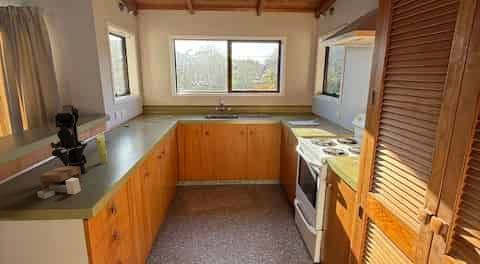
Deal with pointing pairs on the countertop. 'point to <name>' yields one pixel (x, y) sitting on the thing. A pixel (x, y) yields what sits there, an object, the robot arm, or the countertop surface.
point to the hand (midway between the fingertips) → (73, 163)
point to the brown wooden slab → (59, 175)
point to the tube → (101, 148)
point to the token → (46, 193)
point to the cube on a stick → (67, 186)
